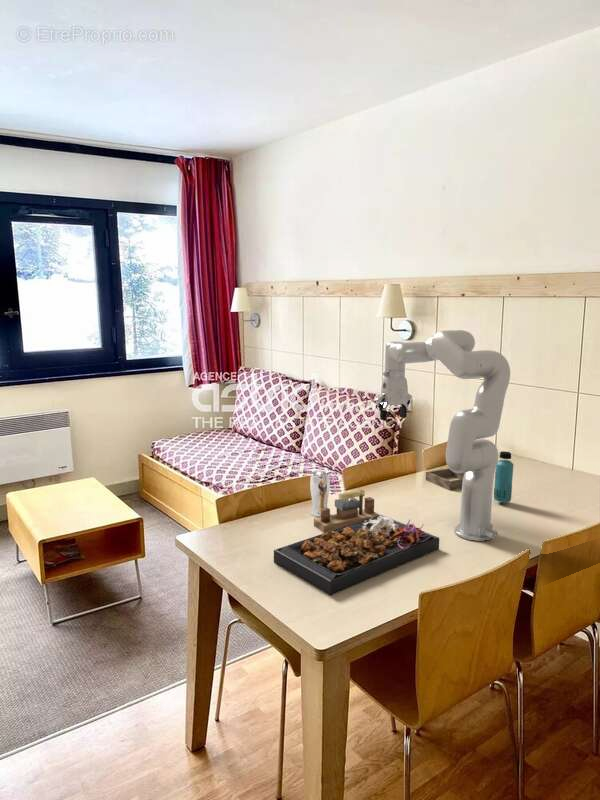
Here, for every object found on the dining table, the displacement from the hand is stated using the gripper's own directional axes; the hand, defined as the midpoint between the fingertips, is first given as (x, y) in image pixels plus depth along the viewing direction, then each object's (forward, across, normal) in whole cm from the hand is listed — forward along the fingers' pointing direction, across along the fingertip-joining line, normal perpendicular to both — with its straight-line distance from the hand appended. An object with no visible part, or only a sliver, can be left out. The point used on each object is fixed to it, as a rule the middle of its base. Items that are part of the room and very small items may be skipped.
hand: (393, 418), depth 223 cm
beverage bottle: (+31, +30, -29) cm, 52 cm away
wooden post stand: (+31, -32, -15) cm, 47 cm away
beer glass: (+31, -35, -3) cm, 47 cm away
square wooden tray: (+30, +32, -1) cm, 44 cm away
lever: (+21, -30, -15) cm, 40 cm away
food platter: (+31, -44, -37) cm, 65 cm away
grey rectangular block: (+24, -32, -15) cm, 43 cm away
